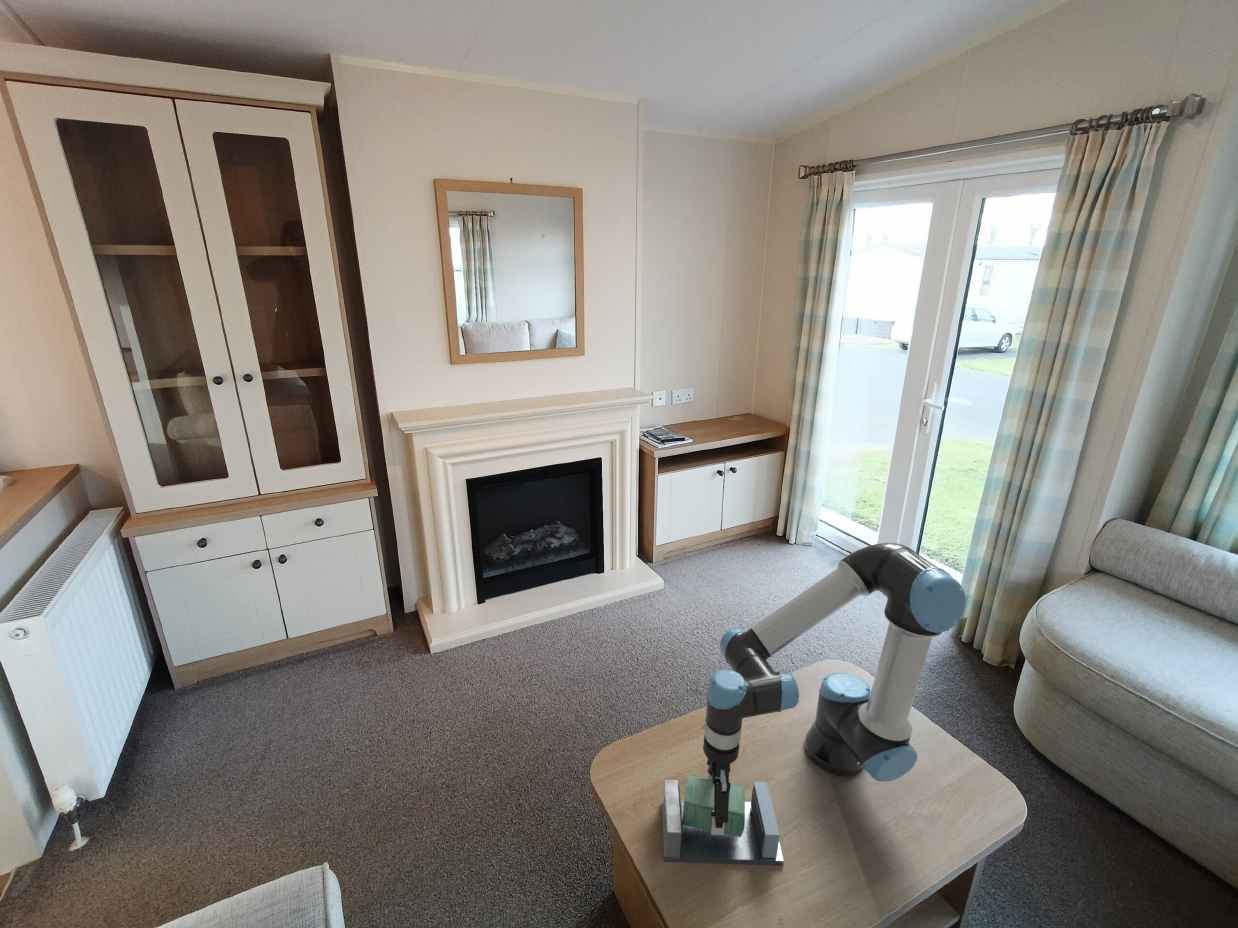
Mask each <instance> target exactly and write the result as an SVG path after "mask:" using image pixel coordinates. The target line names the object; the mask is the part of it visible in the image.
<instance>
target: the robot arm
mask: <svg viewBox="0 0 1238 928" xmlns="http://www.w3.org/2000/svg"><path fill="white" fill-rule="evenodd" d="M874 592H880V593H881V594H883V595H884V596H885V597H886V599H887V600H886V604H885V607H884V617H885V618H886V620H887V622H889V623H888V626H887V630H886V633H885V634H886V635H885V638H884V642H883V645H882V648H881V649H882V650H881V654H880V657H879V660H878V664H877V667H876V671H875V674H874V675H875V676H874V679H873V682H872V686H871V687H870V686H869V684H868V683H867V682H866V681H864V680H863V679H862V678H860V677H858V676H857V675H853V674H849V673H846V672H845V673H844V672H834V673H830V674H828V675H826V676H825V677H824V678H823V679H822V682H821V685H820V688H819V690H818V692H819V693H818V701H817V707H816V714H815V720H814V721H813V723H812V724H811V727H809V729H808V730H807V732H806V734H805V740H804V749H805V752H806V755H807V756H808V758H809V760H810V761H812V763H813V764H815V766H817V767H819V768H820V769H822V770H824V771H825V772H827V773H830V774H833V775H836V776H853V775H855V774H857V773H859V772H860V771H861V770H862V769H863V770H865V771H866V772H867V774H869V776H870V777H871V778H872V779H874V780H876V781H878V782H882V783H883V782H884V783H885V782H893V781H895V780H898V779H900V778H902V777H903V776H905V775H906V774H908V773H909V772H910V771H911V770H912V768H914V766H915V765H916V763H917V761H918V753H917V751H916V749H915V748H914V746H912V745H911V744H910V741H911V736H912V734H913V727H912V723H911V722H910V720H909V716H910V713H911V710H912V707H913V703H914V699H915V697H916V692H917V689H918V686H919V682H920V679H921V677H922V672H923V670H924V666H925V664H926V660H927V657H928V653H929V650H930V646H931V643H932V640H933V638H935V637H938V636H940V635H941V634H943V633H944V632H947V631H949V630H951V629H952V628H953V627H955V626H956V621H960V620H961V618H962V617H963V614H964V613H965V609H966V602H967V601H966V600H967V598H966V592H965V591H964V588H963V586H962V585H961V584H960V582H959V581H958V580H956V579H955V578H954V577H952V576H951V574H950V573H949V572H947V571H946V570H944V569H943V568H940V567H938V566H937V565H935V564H934V563H932V562H930V561H929V560H928V559H926V558H925V557H923V556H922V555H920V554H918V553H917V552H915V550H913V549H912V548H910V547H908V546H906V545H904V544H900V543H897V542H894V543H893V542H883V543H882V542H881V543H875V544H871V545H868V546H864V547H862V548H860V549H857V550H855V551H853V552H851V553H850V554H848V555H846V556H844V557H843V558H842V559H840V560H839V561H838V565H837V568H836V569H835V570H832V571H831V572H830V573H828V574H827V575H826V576H824V577H823V578H822V579H820V580H818V581H817V582H816V583H814V584H812V585H811V586H809V587H808V588H807V589H806V590H804V591H802V592H801V593H799V594H798V595H797V596H795V597H794V598H792V599H791V600H790V601H788V602H787V603H784V605H782V606H781V607H779V608H778V609H777V610H775V611H774V612H771V614H769V615H768V616H767V617H765V618H763V619H762V620H761V621H759V622H757V624H756V623H755V624H754V625H753V626H752V627H750V628H749V629H748V630H746V631H745V630H744V629H742V628H734V629H729V630H728V631H726V632H725V633H724V634H723V636H722V637H721V638H720V641H719V648H720V651H721V654H722V656H724V658H725V662H726V663H727V664H728V665H729V666H730V668H731V670H727V669H720V670H717V671H715V672H713V674H712V675H711V676H710V678H709V681H708V682H709V683H708V687H707V690H706V691H707V692H706V712H705V723H703V724H702V729H703V730H704V735H703V743H702V745H703V746H702V747H703V748H702V749H703V754H704V755H705V757H706V758H707V761H706V764H707V766H708V768H707V773H708V775H707V779H709V780H712V781H713V784H714V810H713V812H711V817H712V823H711V835H724V825H725V823H728V807H729V792H730V787H731V784H732V783H731V782H730V777H729V776H730V772H731V764H733V763H734V762H736V760H737V759H738V757H739V751H740V742H741V735H742V726H743V719H747V718H751V717H756V716H762V715H768V714H773V713H781V712H783V711H786V710H789V709H795V707H796V706H797V705H798V704H799V701H800V700H799V698H800V690H799V685H798V683H797V681H796V679H795V677H794V675H792V673H790V672H789V671H786V670H783V671H781V670H780V671H779V670H778V671H775V669H773V667H772V666H771V664H770V663H769V662H768V661H767V660H768V659H769V658H771V657H772V656H774V655H775V654H777V653H778V652H779V651H781V650H782V649H785V647H786V646H789V644H792V643H793V642H794V641H795V640H797V639H799V638H800V637H802V636H803V635H804V634H805V633H807V632H809V631H810V630H811V629H813V628H814V627H816V626H817V625H819V624H820V623H822V622H823V621H824V620H826V619H827V618H829V617H830V616H832V615H833V614H835V613H836V612H837V611H839V610H840V609H841V608H843V607H845V606H846V605H848V604H849V603H850V602H852V601H853V600H855V599H857V598H859V596H862V597H867V596H869V595H871V594H872V593H874Z"/></svg>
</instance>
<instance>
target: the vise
mask: <svg viewBox="0 0 1238 928" xmlns="http://www.w3.org/2000/svg"><path fill="white" fill-rule="evenodd" d="M663 788H664V789H663V790H664V792H663V799H661V804H660V805H661V821H662V825H661V826H662V847H663V848H662V850H663V862H664V863H666V862H667V863H686V864H688V863H691V864H719V865H721V864H722V865H725V864H726V865H746V866H747V865H750V866H753V865H754V866H777V867H778V866H781V867H783V866H784V864H785V863H784V862H785V861H784V857H783V853H782V848H781V844H780V842H779V844H778V851H777V858H766V857H762V852H761V850H760V847H759V842H758V837H757V832H756V827H755V823H754V818H753V813H752V808H751V801H745V827H744V831H743V834H742V836H741V837H738V836H733V835H728V834H724V835H711V831H709V830H704V829H699V828H695V827H691V826H686V825H683V824H682V819H683V811H684V799H681V788H680V785H679V782H678V780H677V779H664V787H663Z"/></svg>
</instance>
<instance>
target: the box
mask: <svg viewBox="0 0 1238 928" xmlns="http://www.w3.org/2000/svg"><path fill="white" fill-rule="evenodd" d="M730 784H731V787H730V792H729V807H728V823H725V825H724V834H728V835H733V836H738V837H741V836H742V834H743V831H744V827H745V802H746V787H744V786H743V785H739V784H733V783H730ZM683 800H684V811H683V819H682V824H683V825H686V826H691V827H695V828H699V829H704V830H709V831H711V823H712V817H711V812H713V810H714V784H713V781H712V780H709V779H708V778H703V777H698V776H693V775H687V779H686V783H685V793H684V799H683Z"/></svg>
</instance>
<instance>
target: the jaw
mask: <svg viewBox="0 0 1238 928" xmlns="http://www.w3.org/2000/svg"><path fill="white" fill-rule="evenodd" d="M751 792H752V793H751V799H750V802H751V808H752V813H753V818H754V823H755V827H756V832H757V837H758V842H759V847H760V850H761V852H762V857H766V858H777V851H778V844H779V843H780V836H781V835H780V830H779V826H778V823H777V822H778V821H777V818H776V814H775V811H774V805H773V801H772V798H771V794H770V790H769V786H768V783H767V781H753V787H752V791H751Z"/></svg>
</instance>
